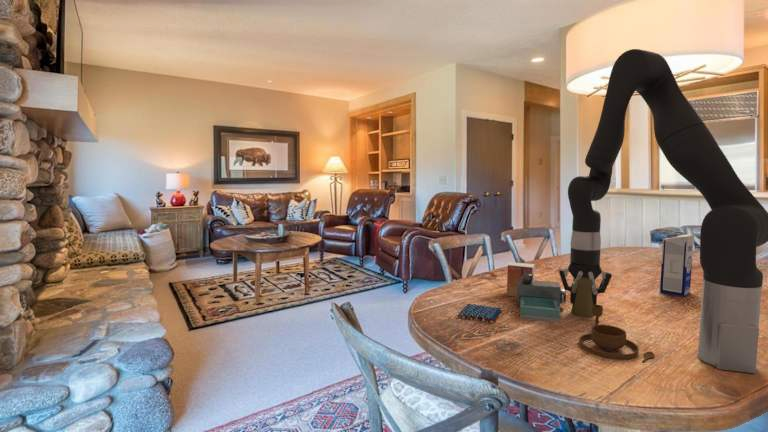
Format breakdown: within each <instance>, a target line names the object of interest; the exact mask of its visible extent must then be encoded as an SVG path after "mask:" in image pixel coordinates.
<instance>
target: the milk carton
mask: <svg viewBox="0 0 768 432" xmlns="http://www.w3.org/2000/svg"><path fill="white" fill-rule="evenodd" d="M694 237H695V234H693V233H692V234H690V233H689V234H681V235H678V233H676V232H674V233H669V234H666V238H663V239H662V248H661V265H660V267H661V268H660V281H659V282H660V285H659V293H662V294H667V295H673V296H678V297H686V296H687V295H689V294H690V293H691V286H692V285H691V284H692V283H691V282H692V281H691V280H692V269H693V268H692V266H693V254H694V239H695V238H694Z"/></svg>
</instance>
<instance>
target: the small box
mask: <svg viewBox="0 0 768 432" xmlns="http://www.w3.org/2000/svg"><path fill="white" fill-rule="evenodd" d="M535 269H536V264H535V263H524V262H513V261H510V262H509V263H508V264H507V273H506V274H507V275H506V296H508V297H516V298H517V279H521V280H523V274H524V273H530V274H533V280H535Z"/></svg>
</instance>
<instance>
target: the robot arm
mask: <svg viewBox="0 0 768 432" xmlns="http://www.w3.org/2000/svg"><path fill="white" fill-rule="evenodd" d="M607 83H608V84H607V88H606V92H605V97H604V100H603V101H604V102H603V105H602V110H601V114H600V118H599V121H598V125H597V128H596V130H595V133H594V136H593V139H592V141H591V143H590V146H589V149H588V151H587V154H586V155H585V156H586V157H585V159H584V163H585V165H586V167H588V168H590V169H589V173H588V175H577V176H574V178H573V179H571V181H570V182H569V184H568V187H567V197H568V201H569V206H570V210H571V214H572V229H571V231H572V232H571V237H570V254H569V255H570V257H569V260H570V262H569V265H568V267H567V268H559V269H558V274H559V276H560V277H559V278H560V280H561V282H562V285H563V289H565V290H566V291H568V292H570V293H569V301H570V304H573V306H574V303H575V298H576V290H577V281H578V280H579V279H580V278H581V277H589V279H591V280H592V282H593V285H592V300H593V305H598V304H597V302H598V295H600V294H605V292H606V290H607V288H608V285H609V283H610V281H611V279H612V276H613V275H612V273H611V272H610V271H605V270H603V269H602V268H601V249H602V248H601V247H602V241H601V240H602V239H601V225H602V223H601V221H602V219H601V213H600V212H599V211H598V210H595V209H594V208H593V204H592V202H597V201H600V200H602V199H604V197H605V196H606V195H607V193H608V192H609V190H610V185H611V181H612V175H613V169H614V167H613V166H614V164H615V163H616V160H617V158H618V155H619V154H620V151H621V149H622V146H623V144H624V140H625V131H626V130H625V129H626V127H625V125H626V124H625V123H626V122H625V121H626V113H627V110H628V107H629V103H630V101H631V99H632V97H633V95H634V93H635V92H637V93H638V94H639V96H641V98H642V99H643V100H644V102H645V103H646V105H647V106H648V108H649V109H650V112H651V114H652V118H653V121H652V122H653V133H654V138H655V141H656V143H657V145H658V147H659V149H660V150H661V152H662V154H663V156H664V157H665V159H666V161H667V162H668V163H669V165H670V166H671V167H672V169H674V170H675V171H676V172H677V173H678V174H679V175H680V176H681V177H683V178H684V179H685V180H686V181H687V182H688V183H690V184H691V185H692V186H693V187H694V188H695V189H696V190H697V191H698V192H699V193H700V194H701V195H702V197H703V198H704V200H705V201H706V203H707V205H708V206H709V208H710V210H709V211H708V212H707V213H706V214H705V215H704V218H703V220H702V222H701V226H700V232H699V234H700V235H699V236H700V237H699V238H700V239H699V241H700V242H699V262H700V266H701V268H702V271H703V273H702V274H703V277H702V278H703V279H702V291H701V292H702V293H701V305H700V315H699V318H700V319H699V334H698V348H697V349H698V350H697V356H698V358H699V359H700V360H701V361H702V362H704V363H706V364H708V365H710V366H713V367H715V368H716V369H718V370H725V371H730V372H741V373H748V374H756V370H757V359H758V349H759V348H758V347H759V336H760V327H759V326H760V315H761V304H762V296H763V295H762V293H763V292H762V291H763V283H764V282H763V281H764V274H763V272H762V271H761V270H760V269H759V268H758V266H757V248H758V247H761V246H764V244H766V243H768V211H767V210H766V208H765V207H764V206H763V205H762V203H760V202H759V201H758V200H757V197H755V196H754V194H752V192H751V191H750V190H749V189H748V188H747V187H746V186H745V183H743V181H741V179H740V177H739V176H738V175H737V173H736V171H735V170H734V168H733V166H732V165H731V163H730V161H729V160H728V158H727V155H725V153H724V152H723V150H722V149H721V147H720V145H719V144H718V142H717V141H716V139H715V137H714V136H713V134H712V133H711V131H710V129H709V128H708V127H707V125H706V124H705V122H704V120H703V119H702V118H701V117H700V115H699V114H698V113H697V111H696V109H694V107H693V105H692V104H691V102H690V101H689V100H688V98H687V97H686V96H685V94H684V93H683V92H682V90H681V88H680V86H679V85H678V82H677V80H676V78H675V76H674V73H673V72H672V69H671V68H670V64H669V63H668V61H667V60H666V59H665V57H663V56H662V55H661V54H660V53H657V52H654V51H650V50H646V49H645V50H644V49H640V48H639V49H638V48H633V49H628V50H626V51H624V52H623V53H622V54H620V55H619V56H618V57H617V59H616V60H615V61H614V64H613V65H612V68H611V72H610V74H609V79H608V82H607ZM569 273H570V275H571V276H572V277H573V278H572V282H571V285H569V284H568V281H567V278H566V277H568V274H569ZM599 276H601V282H600V283H599V285H598V286H599V287H597V284H596V281H595V280H596V279H597V278H598V277H599ZM574 279H575V281H574Z"/></svg>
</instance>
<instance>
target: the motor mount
mask: <svg viewBox="0 0 768 432" xmlns="http://www.w3.org/2000/svg"><path fill="white" fill-rule="evenodd" d="M566 302H567V290H565V289H564V288H561V284H560V282H559V281H548V280H535V279H534V280H533V274H530V273H524V274H523V280H521V279H517V297H516V307H517V308H519V309H520V310H519V315H520V316H519V317H520V318H519V319H520V320H527V321H528V320H529V321H540V322H547V323H549V322H550V323H558V324H559V323H561V320H560V318H561V305H565V304H566Z"/></svg>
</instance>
